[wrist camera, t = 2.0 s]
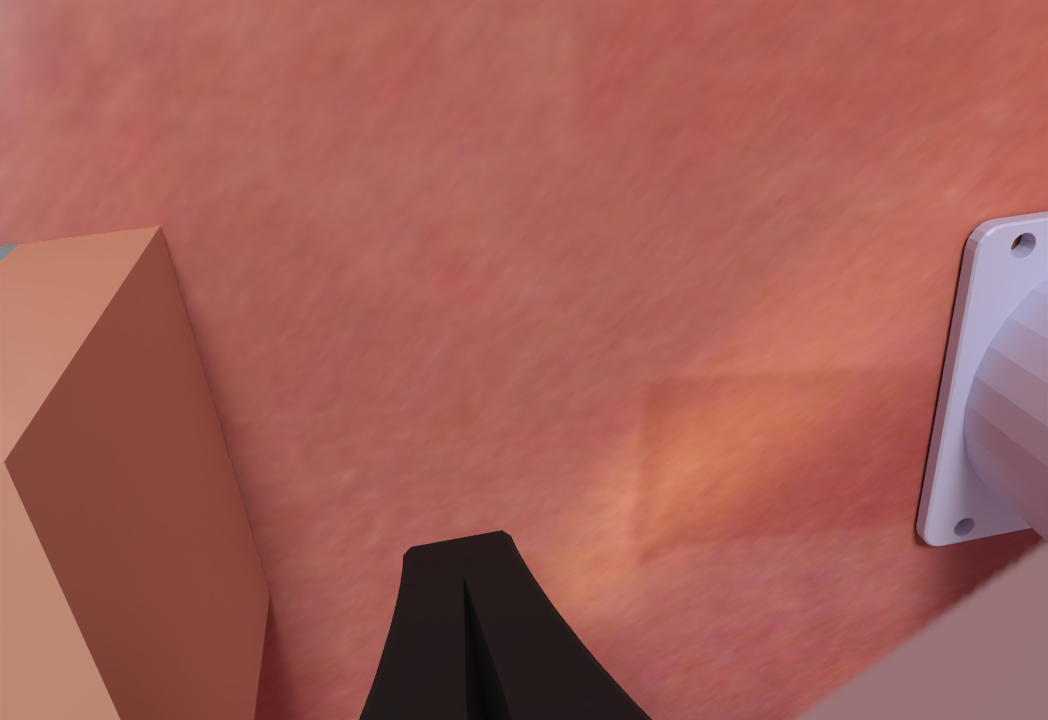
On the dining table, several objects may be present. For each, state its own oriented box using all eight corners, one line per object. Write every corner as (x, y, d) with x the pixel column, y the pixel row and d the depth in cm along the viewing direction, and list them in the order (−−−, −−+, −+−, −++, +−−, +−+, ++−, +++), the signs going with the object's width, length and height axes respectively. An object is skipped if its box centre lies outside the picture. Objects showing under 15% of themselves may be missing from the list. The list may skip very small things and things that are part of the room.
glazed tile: (160, 225, 14) (4, 461, 8) (270, 592, 17) (224, 950, 11) (-1, 246, 13) (-303, 511, 7) (145, 615, 17) (29, 997, 11)
